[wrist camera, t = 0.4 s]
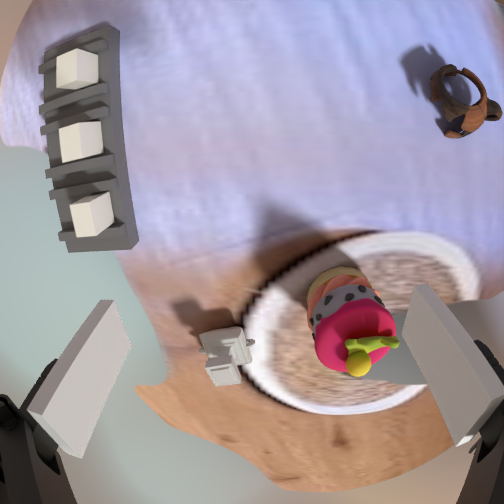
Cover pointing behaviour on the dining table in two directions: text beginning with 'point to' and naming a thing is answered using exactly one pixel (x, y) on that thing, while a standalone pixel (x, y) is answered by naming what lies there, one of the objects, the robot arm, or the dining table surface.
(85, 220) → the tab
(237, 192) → the dining table surface
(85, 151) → the tab middle
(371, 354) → the cake
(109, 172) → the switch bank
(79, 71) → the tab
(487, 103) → the brown broken ring
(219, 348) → the grey angular blocky piece
